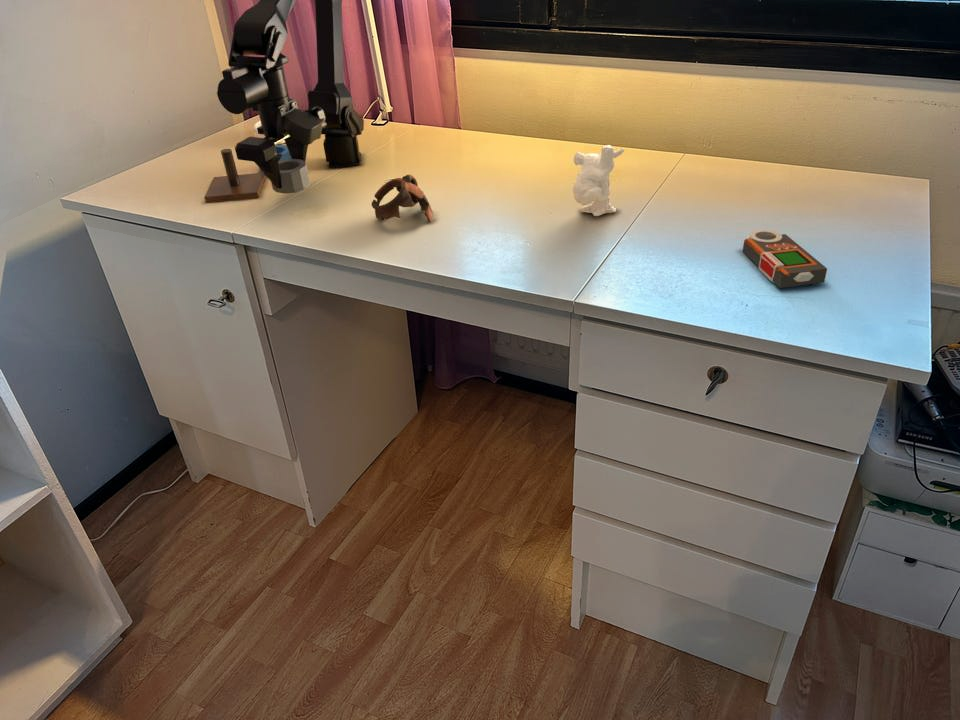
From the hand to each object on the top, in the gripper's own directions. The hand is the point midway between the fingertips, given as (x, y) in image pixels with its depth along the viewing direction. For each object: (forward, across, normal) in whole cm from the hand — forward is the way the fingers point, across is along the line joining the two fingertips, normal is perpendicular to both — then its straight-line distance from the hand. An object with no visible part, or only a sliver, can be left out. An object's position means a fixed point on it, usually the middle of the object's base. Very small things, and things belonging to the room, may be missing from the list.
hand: (290, 180), depth 137 cm
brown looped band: (+4, -1, -25) cm, 25 cm away
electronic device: (+4, +2, -87) cm, 87 cm away
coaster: (+4, +28, +24) cm, 37 cm away
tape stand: (+4, 0, +14) cm, 14 cm away
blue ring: (+4, +11, +12) cm, 17 cm away
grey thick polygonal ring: (+1, 0, 0) cm, 1 cm away
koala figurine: (+4, +12, -56) cm, 57 cm away
